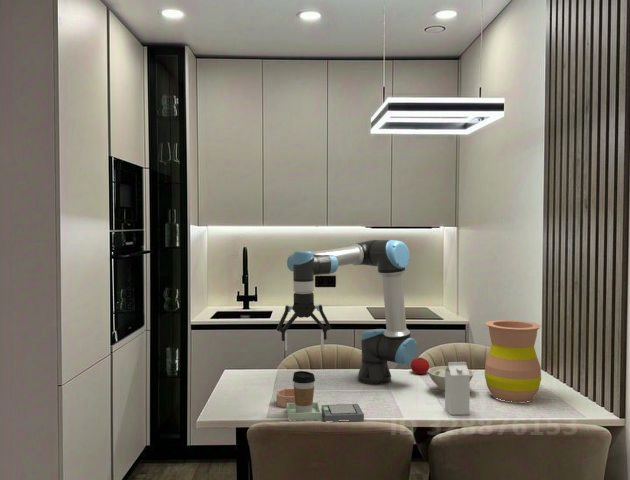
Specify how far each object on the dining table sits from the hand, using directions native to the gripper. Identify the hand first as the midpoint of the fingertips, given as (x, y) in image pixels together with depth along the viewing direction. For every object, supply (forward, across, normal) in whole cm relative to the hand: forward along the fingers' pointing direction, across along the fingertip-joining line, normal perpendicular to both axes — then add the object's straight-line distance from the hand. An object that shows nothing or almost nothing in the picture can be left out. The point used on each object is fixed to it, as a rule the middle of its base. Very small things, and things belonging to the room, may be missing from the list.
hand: (304, 349), depth 208 cm
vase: (+26, -86, -12) cm, 91 cm away
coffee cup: (+24, 0, 0) cm, 24 cm away
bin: (+25, +4, -14) cm, 29 cm away
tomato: (+26, -60, -52) cm, 83 cm away
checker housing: (+25, -14, +3) cm, 28 cm away
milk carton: (+25, -58, +3) cm, 63 cm away
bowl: (+26, -64, -21) cm, 72 cm away
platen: (+23, -14, +3) cm, 27 cm away
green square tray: (+25, 0, 0) cm, 25 cm away
